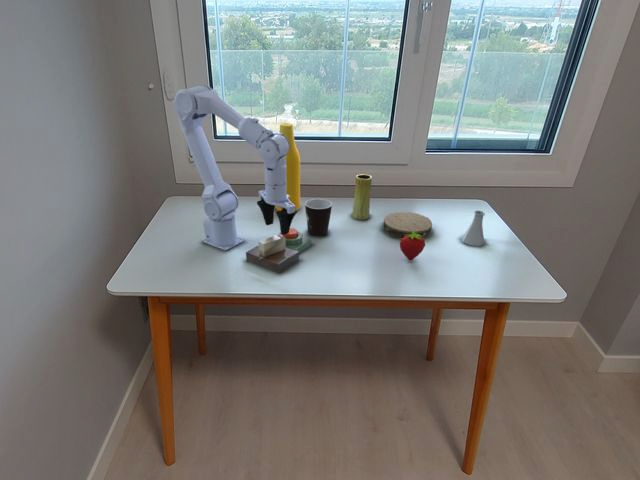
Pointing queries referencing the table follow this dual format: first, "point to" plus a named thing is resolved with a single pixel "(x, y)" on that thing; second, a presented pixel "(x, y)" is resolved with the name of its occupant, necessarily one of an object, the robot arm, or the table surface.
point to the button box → (297, 242)
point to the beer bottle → (291, 167)
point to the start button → (291, 234)
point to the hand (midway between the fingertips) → (277, 228)
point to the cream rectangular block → (272, 245)
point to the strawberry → (412, 245)
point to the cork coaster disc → (407, 224)
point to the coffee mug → (318, 216)
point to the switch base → (273, 259)
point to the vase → (362, 197)
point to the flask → (475, 230)
